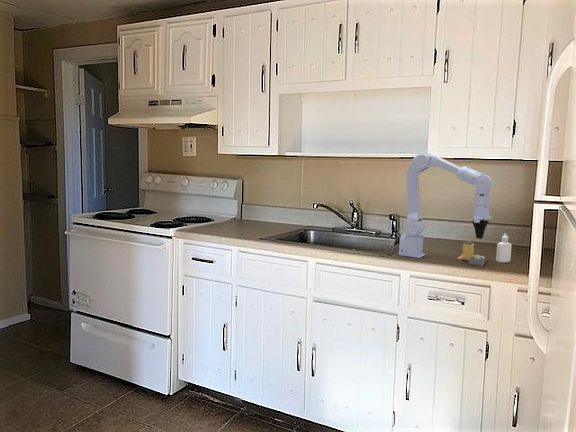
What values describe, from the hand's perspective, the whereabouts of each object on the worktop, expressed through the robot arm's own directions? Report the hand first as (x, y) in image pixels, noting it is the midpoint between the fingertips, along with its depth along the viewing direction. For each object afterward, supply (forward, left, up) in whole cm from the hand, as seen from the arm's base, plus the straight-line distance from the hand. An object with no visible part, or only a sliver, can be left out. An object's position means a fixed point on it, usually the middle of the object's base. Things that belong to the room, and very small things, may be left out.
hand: (479, 238), depth 194 cm
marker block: (-5, +5, -10) cm, 12 cm away
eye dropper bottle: (+8, +10, -11) cm, 16 cm away
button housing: (0, -1, -10) cm, 10 cm away
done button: (0, -1, -10) cm, 10 cm away
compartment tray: (-4, +7, -10) cm, 13 cm away
